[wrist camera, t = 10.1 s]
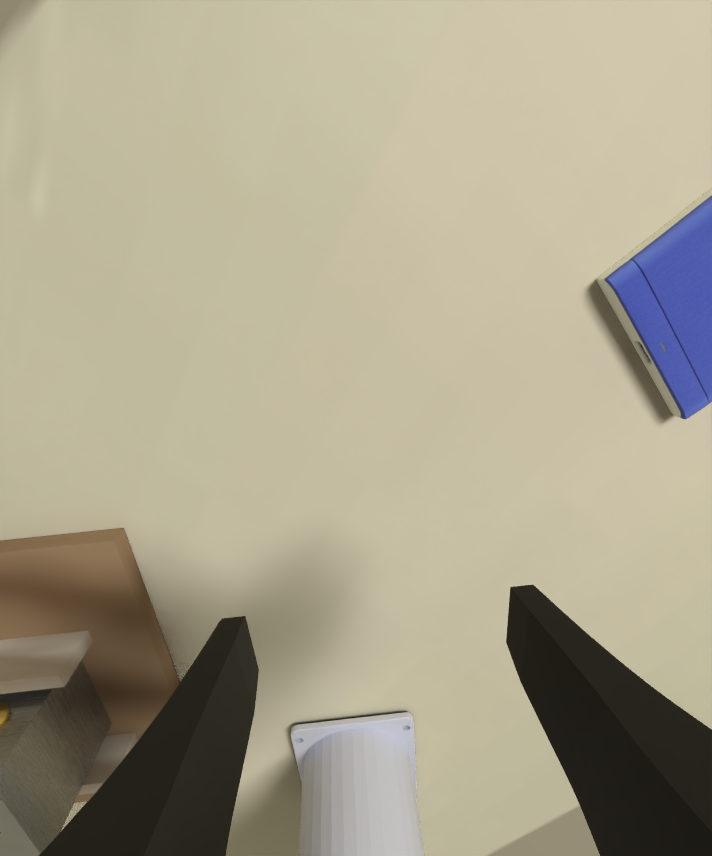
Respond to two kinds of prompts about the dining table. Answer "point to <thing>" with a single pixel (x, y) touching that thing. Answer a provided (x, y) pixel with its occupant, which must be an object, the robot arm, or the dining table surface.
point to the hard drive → (670, 306)
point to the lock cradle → (84, 632)
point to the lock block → (46, 759)
